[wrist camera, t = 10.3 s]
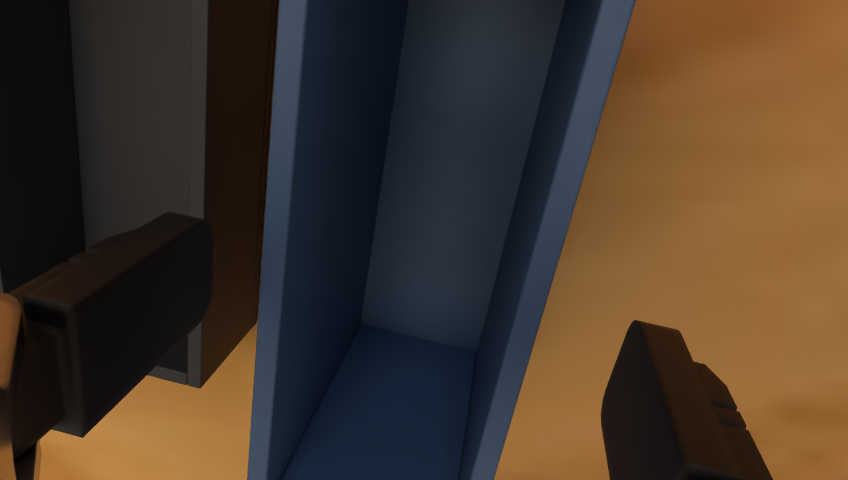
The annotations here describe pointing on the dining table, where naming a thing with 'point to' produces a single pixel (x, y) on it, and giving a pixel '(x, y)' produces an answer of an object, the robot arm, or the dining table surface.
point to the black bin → (138, 141)
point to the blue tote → (416, 225)
